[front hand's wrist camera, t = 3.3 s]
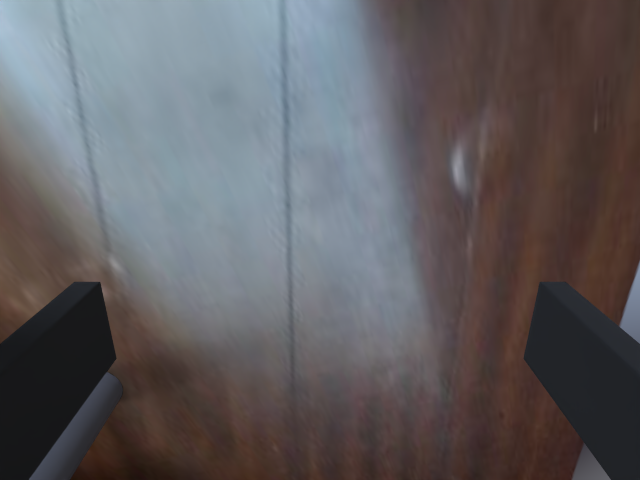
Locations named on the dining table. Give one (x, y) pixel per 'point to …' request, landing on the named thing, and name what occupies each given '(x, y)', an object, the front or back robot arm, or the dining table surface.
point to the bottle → (80, 432)
